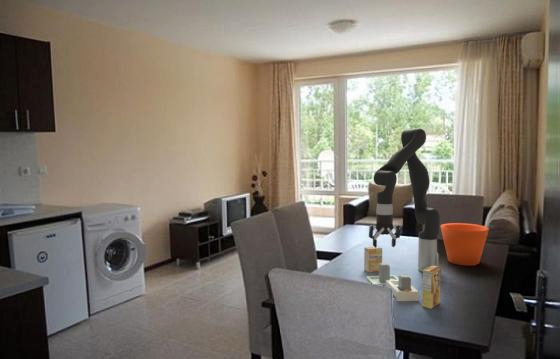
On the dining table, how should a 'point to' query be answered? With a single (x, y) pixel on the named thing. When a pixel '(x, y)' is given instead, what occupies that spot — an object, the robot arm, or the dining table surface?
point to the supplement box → (372, 258)
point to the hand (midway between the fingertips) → (384, 246)
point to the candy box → (431, 286)
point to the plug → (384, 272)
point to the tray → (376, 279)
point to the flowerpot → (464, 242)
